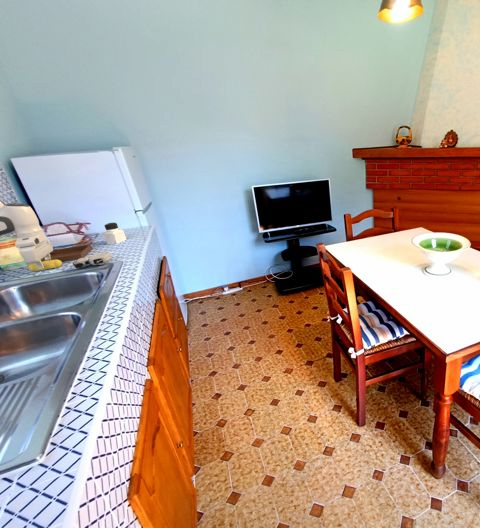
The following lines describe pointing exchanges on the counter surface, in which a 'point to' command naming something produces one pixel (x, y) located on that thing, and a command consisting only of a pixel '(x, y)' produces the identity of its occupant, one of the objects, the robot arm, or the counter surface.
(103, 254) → the robot toy
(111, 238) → the medicine bottle
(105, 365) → the counter surface
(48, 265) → the corn cob
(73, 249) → the tray
